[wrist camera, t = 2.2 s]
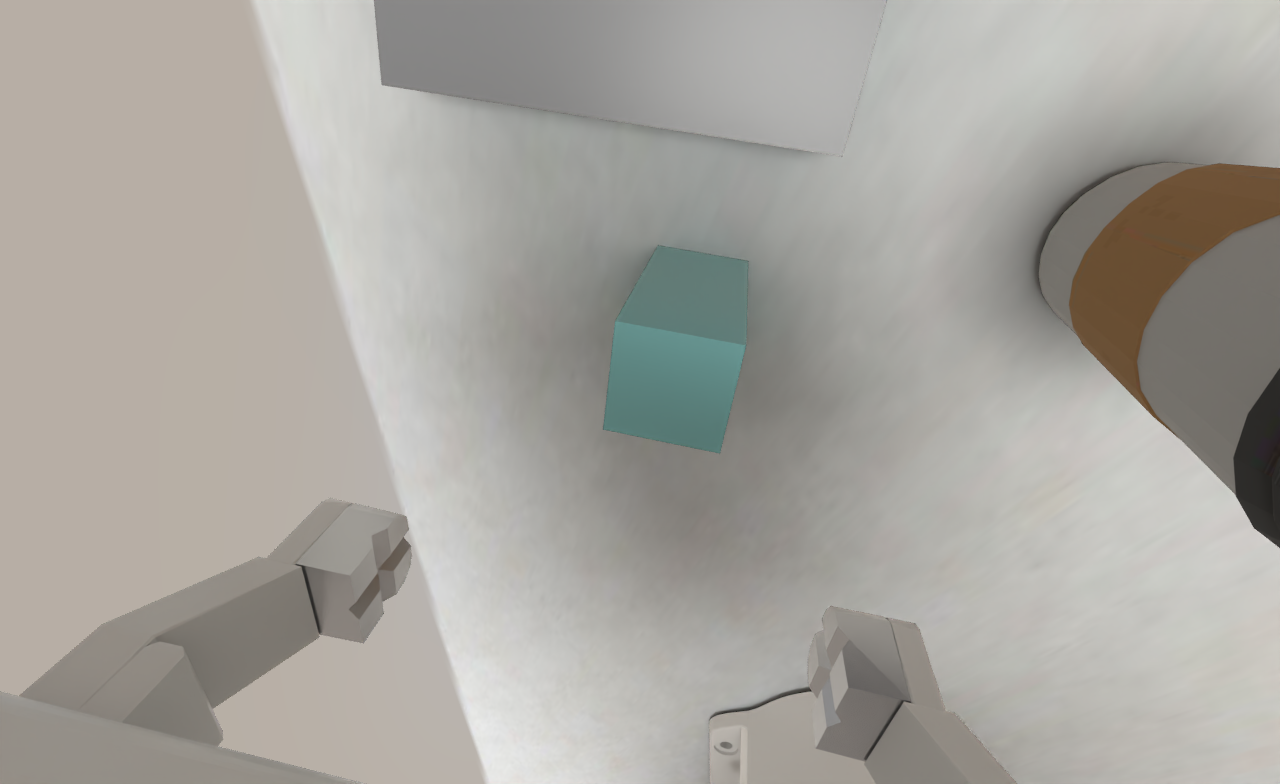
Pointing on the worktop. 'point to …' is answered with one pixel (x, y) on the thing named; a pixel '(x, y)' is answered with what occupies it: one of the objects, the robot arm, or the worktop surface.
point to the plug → (679, 350)
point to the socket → (646, 61)
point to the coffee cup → (1185, 309)
